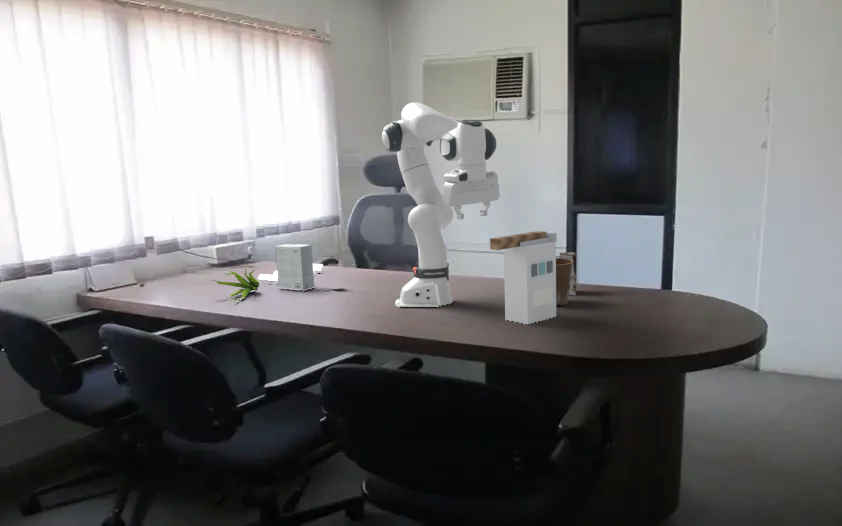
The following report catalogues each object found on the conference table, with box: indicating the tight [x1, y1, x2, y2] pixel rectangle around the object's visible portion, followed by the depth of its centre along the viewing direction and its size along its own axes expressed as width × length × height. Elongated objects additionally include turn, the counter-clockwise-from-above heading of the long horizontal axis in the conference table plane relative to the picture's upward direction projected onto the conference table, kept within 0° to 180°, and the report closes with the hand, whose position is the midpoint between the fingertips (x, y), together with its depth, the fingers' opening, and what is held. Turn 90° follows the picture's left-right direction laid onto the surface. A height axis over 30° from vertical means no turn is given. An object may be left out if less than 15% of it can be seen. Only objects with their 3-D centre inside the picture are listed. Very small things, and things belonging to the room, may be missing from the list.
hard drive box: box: [274, 243, 315, 290], centre depth 298 cm, size 16×8×20 cm, turn 58°
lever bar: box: [489, 230, 547, 251], centre depth 222 cm, size 24×4×4 cm, turn 131°
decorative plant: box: [210, 266, 260, 305], centre depth 281 cm, size 18×30×15 cm, turn 149°
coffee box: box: [559, 251, 577, 296], centre depth 267 cm, size 9×6×16 cm
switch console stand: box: [503, 232, 558, 325], centre depth 227 cm, size 16×10×29 cm
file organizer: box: [257, 263, 324, 281], centre depth 329 cm, size 13×35×5 cm, turn 148°
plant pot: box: [556, 257, 573, 307], centre depth 251 cm, size 16×16×16 cm
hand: (472, 217), depth 210 cm, fingers open, 8 cm apart
